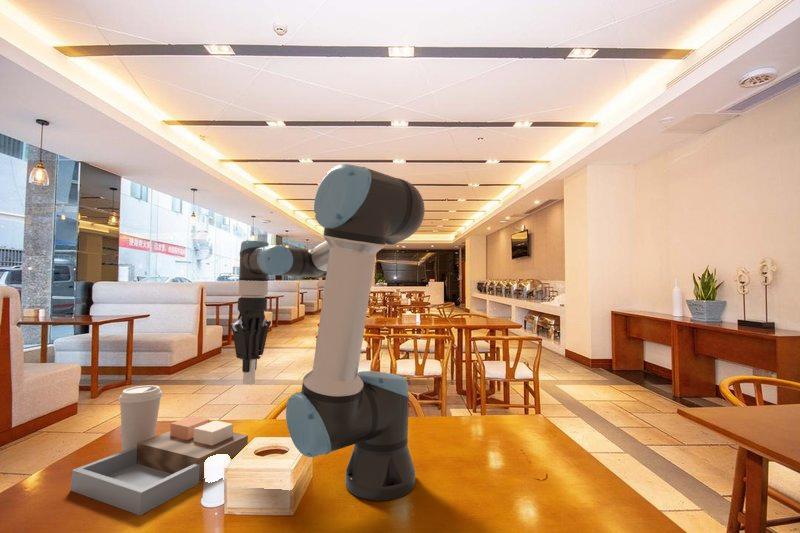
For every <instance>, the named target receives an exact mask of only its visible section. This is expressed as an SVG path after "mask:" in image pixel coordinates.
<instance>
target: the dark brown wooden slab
mask: <svg viewBox="0 0 800 533" xmlns="http://www.w3.org/2000/svg"><path fill="white" fill-rule="evenodd" d="M248 435H249V434H243V433H239V432H234V431H233V436H232V437H230V438H228V439H225V440H223V441H221V442H219V443H217V444H214V445H208V444H203V443H199V442H195V441H194V437H193V438H191V439H188V440H186V439H182V438H177V437H173V436H170V430H168V431H166V432H164V433H161V434H158V435H155V437H152V438H149V439H146V440H144V441H141V442H138V443H137V464H140V465H143V466H147V467H150V468H154V469H157V470H161V471H164V472H168V473H171V474H174V473H176V472H178V471H180V470H182V469H185V468H187V467H189V466H191V465H193V464H195V463H197V464H200V468H199V483H200V482H202V481H204V480H203V478H204V462H205V460H206V459H207V458H208V457H210V456H213V455H216V454H228V455H229V456H230V458H231V459H233V458H234V457H235V456H236V455H237V454H238V453H239V452H240V451H241V450H242V449H243V448H244V447H245V446H246V445H247V444H248V445H249V443H248V442H249V436H248Z"/></svg>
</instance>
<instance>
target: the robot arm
mask: <svg viewBox="0 0 800 533" xmlns="http://www.w3.org/2000/svg"><path fill="white" fill-rule="evenodd" d="M422 196H423V195H422V194H421V192H420V191H419V190H418V188H416V187H415V186H414V185H413V184H412V183H411V182H409V181H407V180H405V179H402V178H397V177H395V176H392V175H389V174H385V173H383V172H380V171H378V170H377V171H376V170H373V169H370V168H368V167H366V166H359V165H353V164H350V163H349V164H348V163H344V164H343V163H342V164H338V165H336V166H334V167H332V168H331V169H330V170H329V171H328V172H327V174H326V175H325V176H323V178H322V180H321V182H320V183H319V186H318V188H317V190H316V193H315V197H314V202H313V203H314V204H313V212H314V213H315V215H314V218H315V220H316V222H317V223H318V224H319V225H320V226H322V227H323V235H322V236H323V238H324V240H325V241H323V242H321V243H319V244H318V245H316V246H314V247H313V248H311V249H306V248H295V247H294V248H293V247H286V246H284V245H280V244H269V242H267V241H264V240H257V239H254V240H253V239H251V240H250V239H247V240H243V241H241V243H240V251H239V271H238V272H239V273H238V275H239V276H238V293H237V295H239V297H238V298H237V311H238V312H239V314H238V317H237V321H235V322H234V323H233V322H232V323H230V325H229V326H230V329H231V331H232V336H233V343H234V350H235V356H236V358H237V359H240V360H242V366H241V367H242V368H241V369H242V374H243V378H242V384H244V385H249V386H250V385H251V386H252V385H254V384H256V382H255V381H256V371H257V362H258V360H260V359H261V356H263V355H264V351H265V345H266V341H267V336H268V331H269V329H270V326H271V324H272V321H271V320H267V318H266V315H265V312H266V311H267V308H268V298H267V296H268V291H269V288H268V287H269V276H283V277H286V276H287V277H289V276H291V277H309V278H318V279H319V278H320V279H321V278H325V282H324V287H323V289H324V290H323V295H322V301H321V308H320V309H321V310H320V315H319V316H320V317H319V323H318V329H317V338H316V345H315V350H314V356H313V357H314V358H313V364H312V370H310V371H308V373H306V374H305V375H304V376H303V378H302V385H301V390H300V392H295V393H293V394H291V396H289V398H288V400H287V402H286V407H285V421H286V425H287V430H288V433H289V436H290V438H291V440H292V443H293V445H294V447H295V448H296V449H297V451H298V452H299V453H300V454H302V455H303V456H305V457H307V458H315V457H320V456H322V455H329V454H330V453H333V452H335V451H339V450H341V449H344V448H347V447H350V446H352V445H354V446H353V449H352V451H351V455H350V457H349V461H348V464H347V465H346V466H347V467H346V470H345V476H344V477H345V478H344V479H345V480H344V485H345V487H346V489H347V491H348V492H349V493H351V494H352V495H354V496H356V497H358V498H360V499H364V500H368V501H379V500H383V501H391V499H392V500H395V499H399V498H401V496H402V497H404V496H406V495H407V493H408V492H409V493H410V492H412V490H413V489H414V488H415V486H416V470H415V466H414V463H413V459H412V456H411V452H410V449H409V446H408V445H409V442H408V440H409V438H408V436H409V434H408V433H409V404H410V403H409V399H410V394H409V383H408V381H407V379H406V378H405V376H402V375H399V374H397V373H396V374H395V373H390V372H384V371H373V370H371V371H369V370H368V371H365V370H363V371H359V365H360V360H361V355H362V354H361V353H362V347H363V339H364V334H365V327H366V320H367V314H368V306H369V302H370V301H369V300H370V295H371V294H370V293H371V288H372V281H373V276H374V268H375V262H376V255H377V253H378V252H379V251H381V250H382V249H384V248H385V247H386V245H388V246H393V245H397V244H399V243H400V242H401V243H402V242H403V241H405V240H406V239H408V238H410V237H411V236H413V235H414V234H416V232H417V231H418V230H419V228H420V227H421V225H422V223H423V220H424V218H425V210H426V209H425V208H426V207H425V202H424V199H423V197H422ZM414 485H415V486H414ZM413 487H414V488H413ZM409 493H408V494H409ZM405 494H406V495H405ZM403 495H404V496H403Z"/></svg>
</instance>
